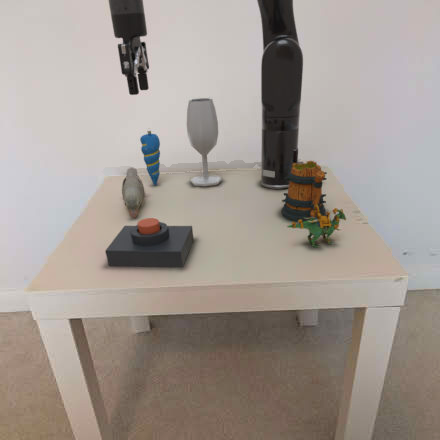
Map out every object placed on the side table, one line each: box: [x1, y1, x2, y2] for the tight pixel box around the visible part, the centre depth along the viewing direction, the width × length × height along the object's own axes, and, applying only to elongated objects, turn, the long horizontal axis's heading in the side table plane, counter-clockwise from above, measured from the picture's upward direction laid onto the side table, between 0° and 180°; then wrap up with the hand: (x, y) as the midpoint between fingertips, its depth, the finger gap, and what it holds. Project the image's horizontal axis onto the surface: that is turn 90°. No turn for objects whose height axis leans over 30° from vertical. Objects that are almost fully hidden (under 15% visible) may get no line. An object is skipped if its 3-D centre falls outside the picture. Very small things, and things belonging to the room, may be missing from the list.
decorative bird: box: [121, 166, 146, 219], centre depth 96 cm, size 5×16×8 cm, turn 9°
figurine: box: [286, 204, 347, 248], centre depth 74 cm, size 3×12×8 cm, turn 105°
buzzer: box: [104, 221, 194, 268], centre depth 76 cm, size 14×11×5 cm
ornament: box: [139, 127, 161, 186], centre depth 107 cm, size 5×5×15 cm
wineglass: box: [186, 97, 222, 187], centre depth 105 cm, size 9×9×21 cm
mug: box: [281, 160, 328, 223], centre depth 85 cm, size 13×10×12 cm
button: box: [136, 217, 160, 234], centre depth 74 cm, size 4×4×2 cm
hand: (139, 92), depth 98 cm, fingers open, 8 cm apart
